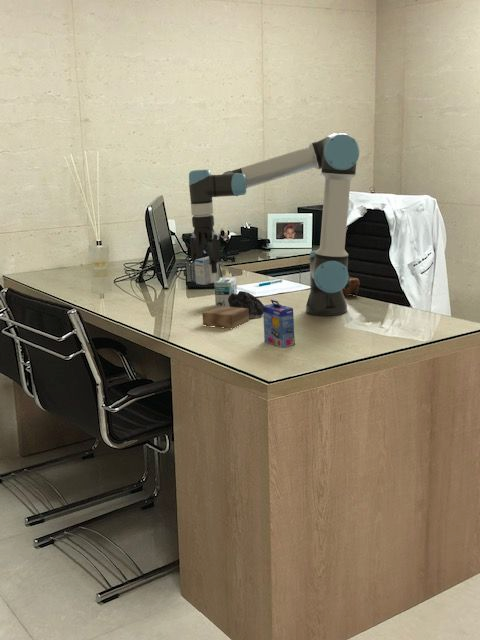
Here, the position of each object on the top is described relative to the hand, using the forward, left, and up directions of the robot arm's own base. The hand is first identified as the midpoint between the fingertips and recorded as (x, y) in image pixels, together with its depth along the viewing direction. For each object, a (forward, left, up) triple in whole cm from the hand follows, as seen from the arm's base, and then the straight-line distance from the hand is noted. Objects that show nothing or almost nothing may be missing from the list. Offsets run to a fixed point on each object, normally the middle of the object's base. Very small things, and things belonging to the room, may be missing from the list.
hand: (207, 281), depth 280 cm
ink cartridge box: (-36, +7, -16) cm, 40 cm away
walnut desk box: (-4, -4, -16) cm, 17 cm away
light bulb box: (+14, -25, -16) cm, 32 cm away
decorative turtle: (-15, -66, -16) cm, 69 cm away
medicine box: (0, 0, -1) cm, 1 cm away
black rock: (-2, -18, -16) cm, 24 cm away
